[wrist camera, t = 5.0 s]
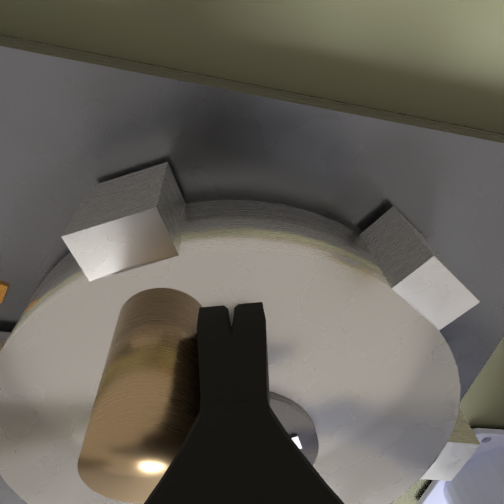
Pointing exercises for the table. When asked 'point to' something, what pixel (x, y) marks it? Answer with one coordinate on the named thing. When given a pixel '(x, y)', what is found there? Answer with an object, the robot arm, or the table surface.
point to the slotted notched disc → (230, 295)
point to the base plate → (238, 169)
